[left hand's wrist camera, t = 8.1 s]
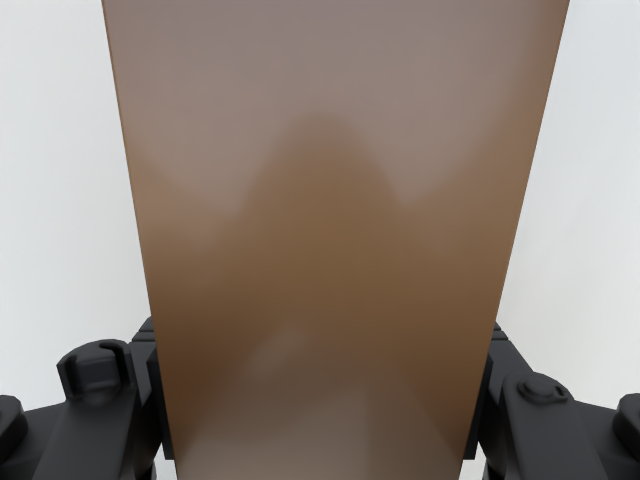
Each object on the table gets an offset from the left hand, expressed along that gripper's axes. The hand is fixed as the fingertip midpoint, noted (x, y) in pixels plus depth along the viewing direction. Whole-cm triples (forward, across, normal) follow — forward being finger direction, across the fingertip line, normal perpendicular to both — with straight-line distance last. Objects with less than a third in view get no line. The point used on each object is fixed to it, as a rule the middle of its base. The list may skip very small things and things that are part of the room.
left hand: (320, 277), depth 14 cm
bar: (0, -1, -25) cm, 25 cm away
